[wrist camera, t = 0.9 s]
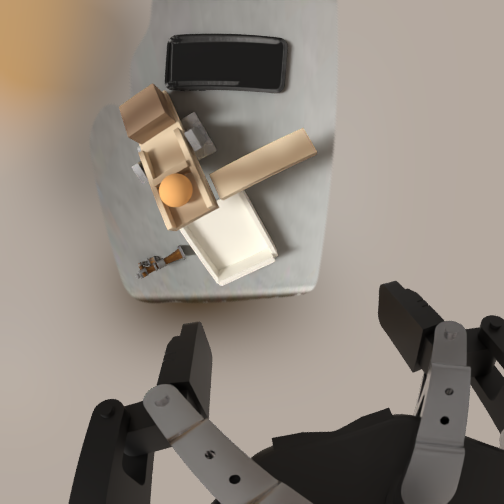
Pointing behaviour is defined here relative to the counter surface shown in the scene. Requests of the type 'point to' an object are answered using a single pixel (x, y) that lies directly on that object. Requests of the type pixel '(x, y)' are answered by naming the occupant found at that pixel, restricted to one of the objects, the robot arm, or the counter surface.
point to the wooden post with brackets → (159, 263)
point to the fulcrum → (196, 139)
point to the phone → (226, 62)
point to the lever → (186, 163)
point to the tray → (231, 239)
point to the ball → (175, 190)
